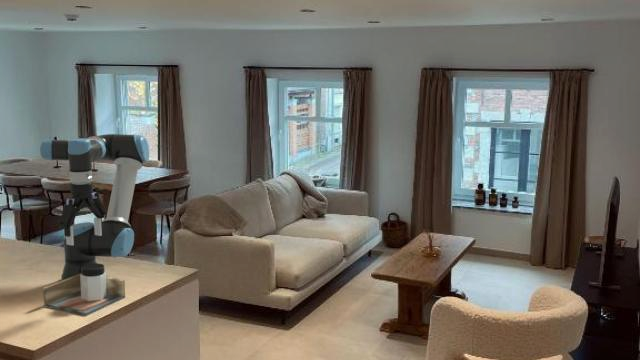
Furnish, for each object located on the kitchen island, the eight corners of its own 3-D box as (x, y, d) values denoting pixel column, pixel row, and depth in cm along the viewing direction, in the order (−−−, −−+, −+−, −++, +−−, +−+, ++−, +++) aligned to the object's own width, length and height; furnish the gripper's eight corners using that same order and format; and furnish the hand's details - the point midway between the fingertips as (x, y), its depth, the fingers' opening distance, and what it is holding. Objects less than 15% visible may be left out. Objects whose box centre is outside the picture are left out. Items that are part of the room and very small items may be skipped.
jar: (77, 297, 235) (75, 266, 233) (96, 291, 242) (95, 261, 240) (91, 303, 230) (90, 271, 228) (110, 297, 237) (109, 266, 235)
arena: (44, 306, 230) (42, 287, 229) (84, 289, 248) (83, 272, 247) (86, 315, 222) (85, 296, 221) (125, 297, 240) (124, 279, 239)
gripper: (61, 189, 212) (65, 250, 216) (114, 177, 234) (116, 232, 239) (45, 187, 215) (49, 247, 219) (98, 175, 237) (101, 230, 242)
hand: (84, 239), depth 229 cm, fingers open, 13 cm apart
